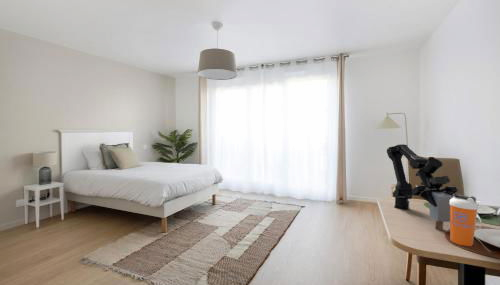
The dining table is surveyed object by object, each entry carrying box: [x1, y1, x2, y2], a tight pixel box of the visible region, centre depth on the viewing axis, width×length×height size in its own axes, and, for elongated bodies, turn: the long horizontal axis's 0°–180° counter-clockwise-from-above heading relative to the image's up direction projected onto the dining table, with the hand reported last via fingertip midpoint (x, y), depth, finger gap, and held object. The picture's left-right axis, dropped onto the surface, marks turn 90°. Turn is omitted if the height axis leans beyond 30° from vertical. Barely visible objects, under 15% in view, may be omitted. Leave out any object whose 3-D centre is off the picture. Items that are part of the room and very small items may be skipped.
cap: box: [429, 192, 453, 223], centre depth 111 cm, size 6×6×12 cm
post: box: [435, 220, 444, 231], centre depth 111 cm, size 2×2×5 cm
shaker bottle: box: [449, 193, 479, 247], centre depth 98 cm, size 9×9×20 cm
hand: (442, 206), depth 110 cm, fingers closed on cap, 6 cm apart
